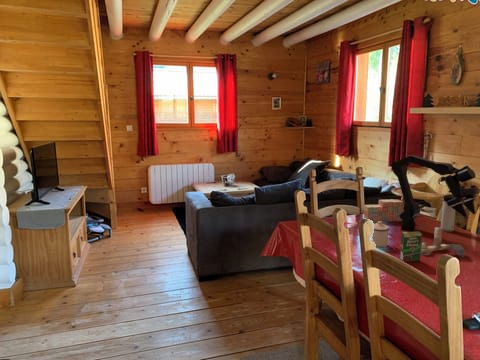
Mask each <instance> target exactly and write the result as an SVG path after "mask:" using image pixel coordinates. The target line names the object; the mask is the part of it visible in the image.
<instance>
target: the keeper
mask: <svg viewBox="0 0 480 360" xmlns="http://www.w3.org/2000/svg"><path fill="white" fill-rule="evenodd" d="M446 245H447V246H448V249H449V250H450V251H452V252H456V254H457V255H458V256H459V257H460V259H465V254H466V253H465V251H466V249H465V248H464V247H463V246H462V245H461V244H459V243H458V244H455V243H447V244H446Z"/></svg>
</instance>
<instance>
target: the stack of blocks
mask: <svg viewBox="0 0 480 360" xmlns="http://www.w3.org/2000/svg"><path fill="white" fill-rule="evenodd" d="M403 212H404V201H402V200H400V199H392V198H390V199H378V204H364V207H363V219H364V218H366V219H370V220H372V221H373V222H372V223H378V221H380V222H382V223H383V222H402V219H400V214H402V213H403Z"/></svg>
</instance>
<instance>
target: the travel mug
mask: <svg viewBox="0 0 480 360" xmlns="http://www.w3.org/2000/svg"><path fill="white" fill-rule="evenodd" d="M451 199H453V196H452V194H445V195H443V199H442V209H441V221H440V228H442V232H447V233H451V232H454V230H455V229H454V227H455V219H456V210H454V209H453V208H451V206H448V204H447V201H448V200H451ZM452 206H453V205H452Z"/></svg>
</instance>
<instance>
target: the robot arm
mask: <svg viewBox="0 0 480 360" xmlns="http://www.w3.org/2000/svg"><path fill="white" fill-rule="evenodd" d="M412 164H414V165H418V166H420V167H423V168H427V169H430V170H431V171H433V172H434V173H436V174H438V175H440V176H441V178H440V180H439V182H440V183H442V182H444V183H445V184H446V186H447V188H448V193H451V194H450V195H452V196H453V199H451V200H448V201H447V204H448V206H451V208H453V209H454V210H455V212H457V213H458V214H460V215H461V216H463V218H468V215H467V212H466V210H465V207H466V209H467V210H468V211H469V212H470V213H471V214H472V215H475V214H476V209H475V201H476V198H478V197H477V195H478V194H479V190H480V188H479V186H477V185H476V184H472V185H470V187H465V185H462V184H461V183H466V182H469V181H470V180H471V181H472V180H474V179H475V178H476V173H475V171H474V170H473V169H472V168H471V167H469V165H465V166H463V167H462V168H460V169H459V168H457V167H455V166H454V165H453V164H452V163H449V162H443V161H442V162H441V161H434V160H432V159H431V160H430V159H427V158H424V157H421V156H419V155H415V154H411V155H407V156H406V157H404V158H401V159H399V160H395V161H392V163H391V164H390V168H391V170H392V172H393V174H394V175H395V176H396V178H397V181H398V184H399V188H400V191H401V194H402V198H403V211H402V214H400V219H402V221H401V226H400V230H404V231H409V232H415V231H414V230H415V229H416V220H415V219H416V218H417V217H418V216H419V215H420V214H421V210H422V208H421V207H420V202H417V201H416V200H415V199H414V197H413V192H412V189H411V185H410V182H409V178H408V175H407V174H408V167H409V166H411V165H412ZM452 205H453V206H452Z"/></svg>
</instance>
